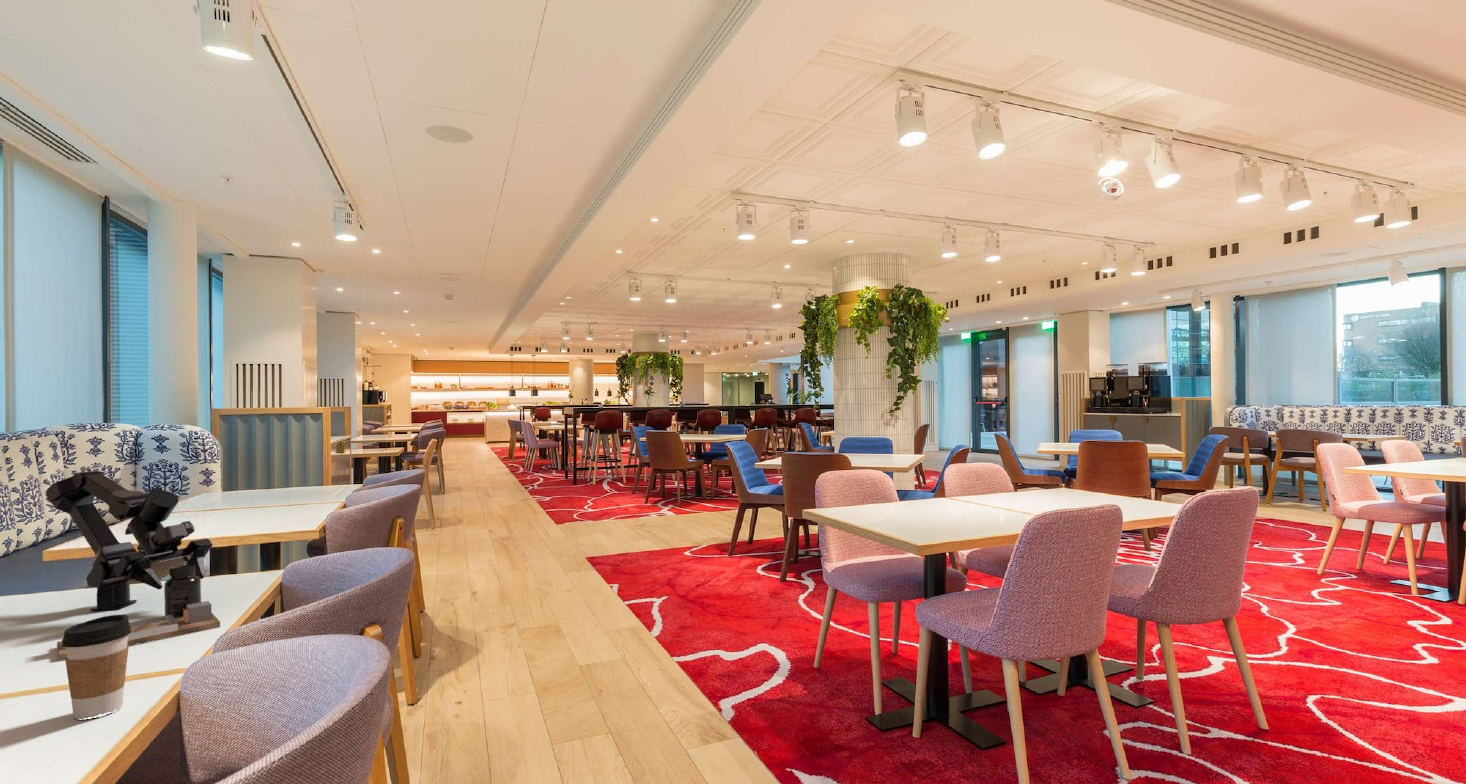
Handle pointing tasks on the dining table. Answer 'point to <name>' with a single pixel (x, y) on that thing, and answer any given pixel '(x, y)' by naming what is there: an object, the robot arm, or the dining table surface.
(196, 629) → the walnut rail
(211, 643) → the dining table surface
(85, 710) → the coffee cup
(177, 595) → the supplement bottle
